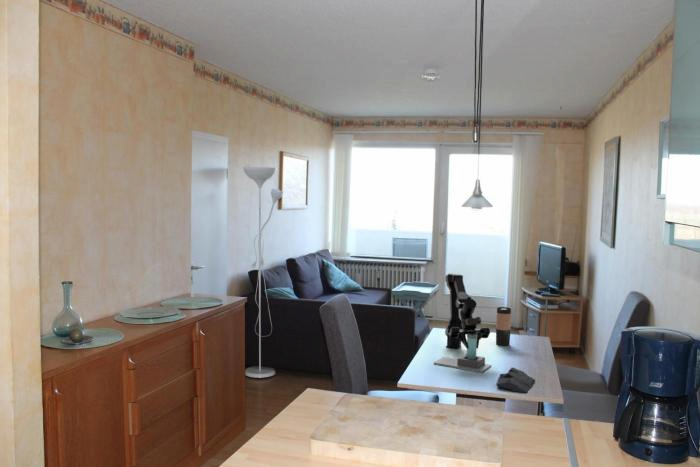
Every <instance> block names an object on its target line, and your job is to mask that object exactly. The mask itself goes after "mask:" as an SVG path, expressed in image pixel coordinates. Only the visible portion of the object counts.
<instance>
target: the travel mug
mask: <svg viewBox="0 0 700 467" xmlns="http://www.w3.org/2000/svg"><path fill="white" fill-rule="evenodd" d="M511 324H512V308H510V307H505V306H500V307H499V306H498V307H497V308H496V324H495V326H496V327H495V344H496V345H497V346H500V347H508V346H510V345H511V344H510V341H511V329H512V328H511V327H512V326H511Z"/></svg>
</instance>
